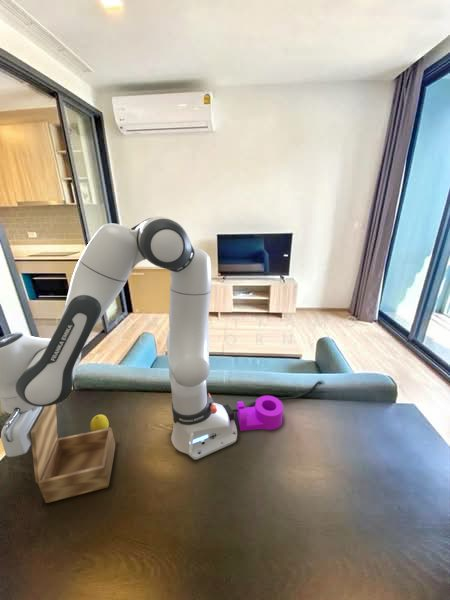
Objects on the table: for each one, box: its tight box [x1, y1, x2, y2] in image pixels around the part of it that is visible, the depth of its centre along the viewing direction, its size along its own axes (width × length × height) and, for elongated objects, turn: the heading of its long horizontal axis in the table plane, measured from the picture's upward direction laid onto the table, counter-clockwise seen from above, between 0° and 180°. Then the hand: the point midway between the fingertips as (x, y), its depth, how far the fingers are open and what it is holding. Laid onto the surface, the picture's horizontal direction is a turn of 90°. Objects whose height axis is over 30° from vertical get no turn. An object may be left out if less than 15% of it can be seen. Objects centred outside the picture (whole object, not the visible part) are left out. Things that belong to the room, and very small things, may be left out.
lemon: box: [90, 414, 110, 432], centre depth 85 cm, size 6×6×8 cm
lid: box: [31, 404, 59, 483], centre depth 67 cm, size 16×14×1 cm
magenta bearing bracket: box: [236, 395, 284, 432], centre depth 91 cm, size 16×10×6 cm, turn 96°
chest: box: [37, 427, 116, 504], centre depth 73 cm, size 16×14×8 cm
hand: (40, 436), depth 67 cm, fingers closed, pressing on lid
